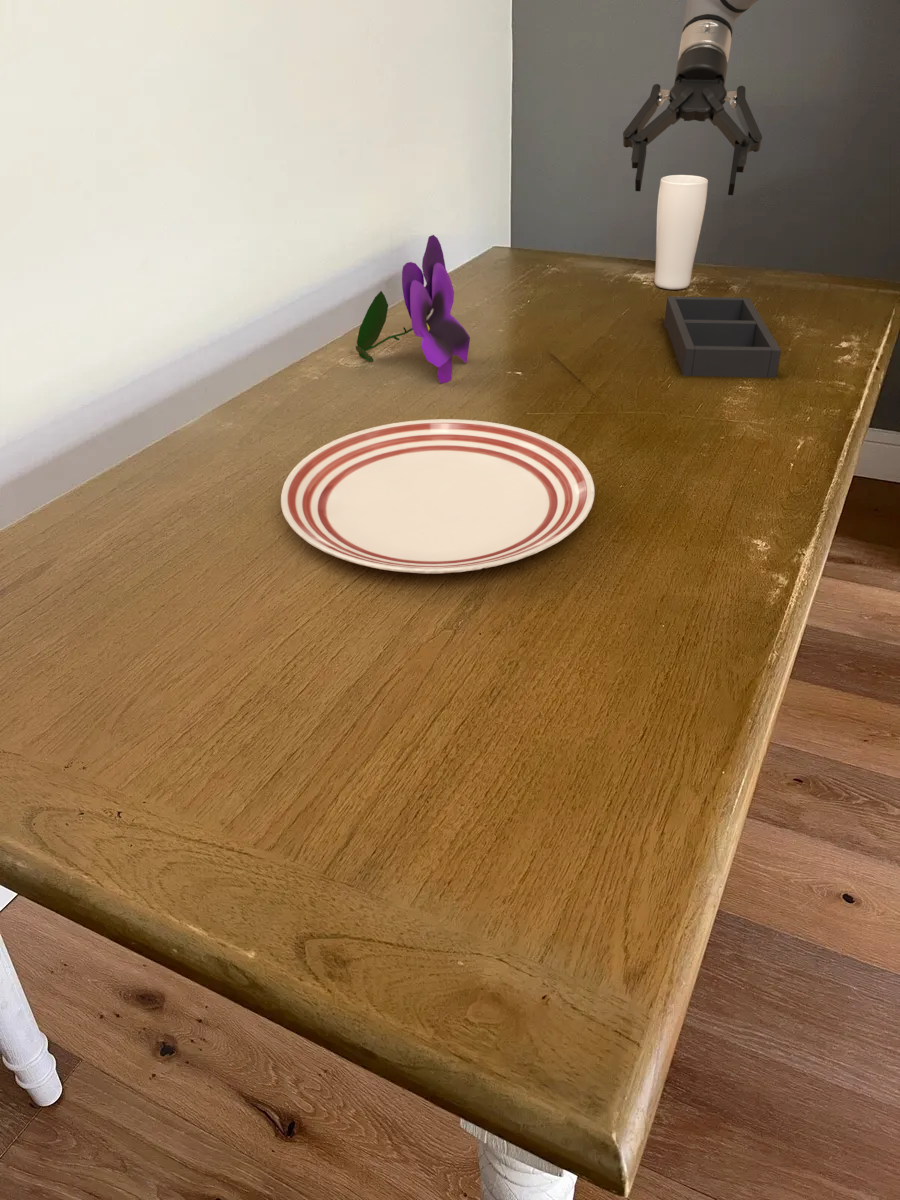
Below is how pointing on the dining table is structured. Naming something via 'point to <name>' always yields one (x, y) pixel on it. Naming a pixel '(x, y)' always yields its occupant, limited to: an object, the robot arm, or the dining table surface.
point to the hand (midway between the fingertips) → (684, 187)
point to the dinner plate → (437, 495)
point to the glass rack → (720, 337)
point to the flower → (422, 313)
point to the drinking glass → (678, 228)
